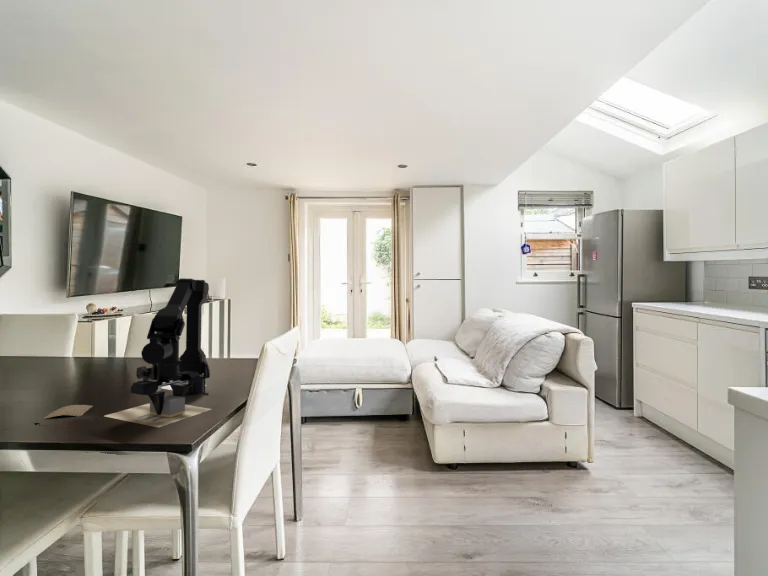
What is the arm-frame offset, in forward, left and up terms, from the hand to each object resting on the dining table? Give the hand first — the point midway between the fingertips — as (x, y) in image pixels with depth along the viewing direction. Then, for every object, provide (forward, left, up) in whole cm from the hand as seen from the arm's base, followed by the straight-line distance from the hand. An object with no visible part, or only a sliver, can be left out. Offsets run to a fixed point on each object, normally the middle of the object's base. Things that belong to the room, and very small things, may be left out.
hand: (167, 412), depth 122 cm
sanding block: (0, 0, 0) cm, 0 cm away
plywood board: (0, -3, -2) cm, 4 cm away
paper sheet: (-22, -32, -2) cm, 39 cm away
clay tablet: (+11, -26, -3) cm, 29 cm away
